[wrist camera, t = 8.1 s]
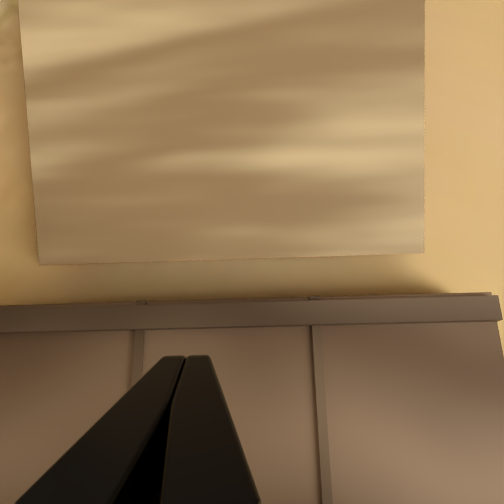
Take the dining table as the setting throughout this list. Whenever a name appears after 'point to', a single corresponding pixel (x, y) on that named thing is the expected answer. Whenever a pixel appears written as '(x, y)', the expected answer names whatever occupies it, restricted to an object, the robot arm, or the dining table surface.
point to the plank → (224, 128)
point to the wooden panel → (280, 389)
